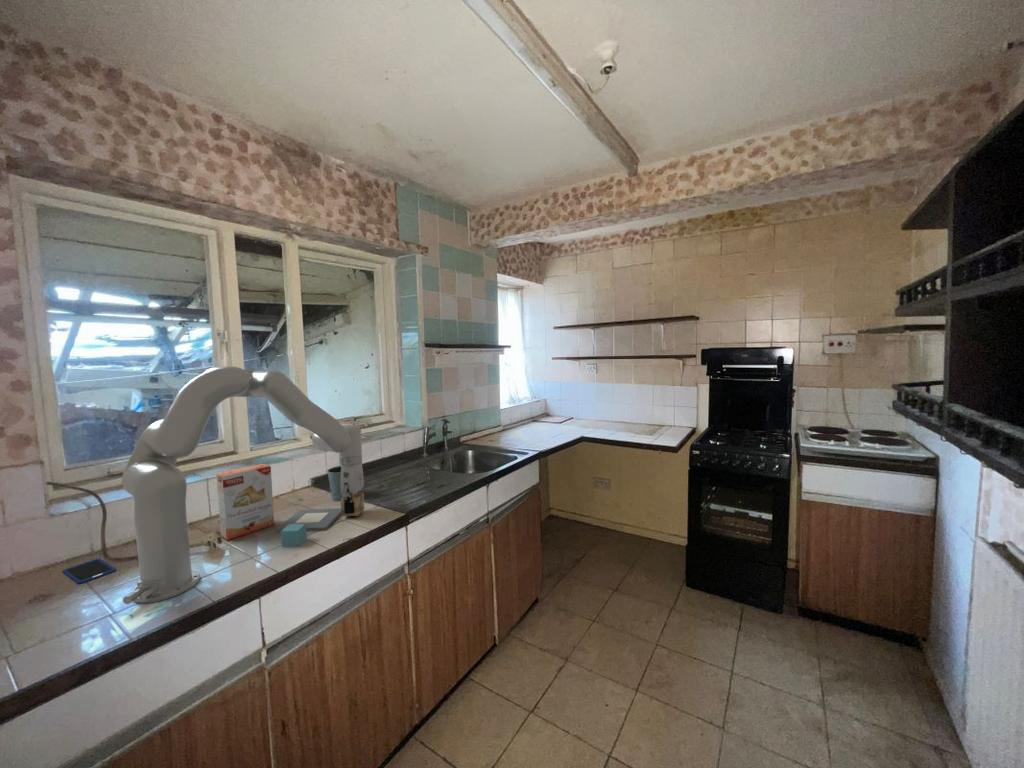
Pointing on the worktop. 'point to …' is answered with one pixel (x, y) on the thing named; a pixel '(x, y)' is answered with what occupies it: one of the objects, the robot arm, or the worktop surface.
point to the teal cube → (293, 535)
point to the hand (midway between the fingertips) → (352, 509)
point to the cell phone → (89, 571)
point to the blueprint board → (313, 519)
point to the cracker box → (245, 500)
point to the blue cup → (335, 483)
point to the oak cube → (358, 504)
